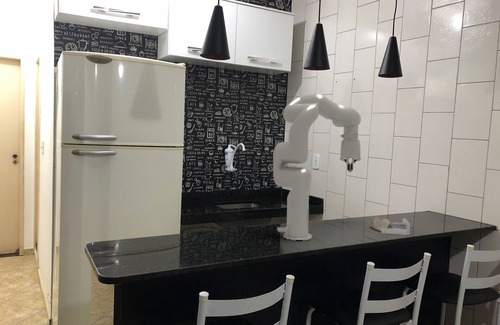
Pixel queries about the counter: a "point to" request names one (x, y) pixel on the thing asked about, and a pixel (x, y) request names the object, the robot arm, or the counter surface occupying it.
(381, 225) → the concrete fragment
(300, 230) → the robot arm
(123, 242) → the counter surface
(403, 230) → the dock
